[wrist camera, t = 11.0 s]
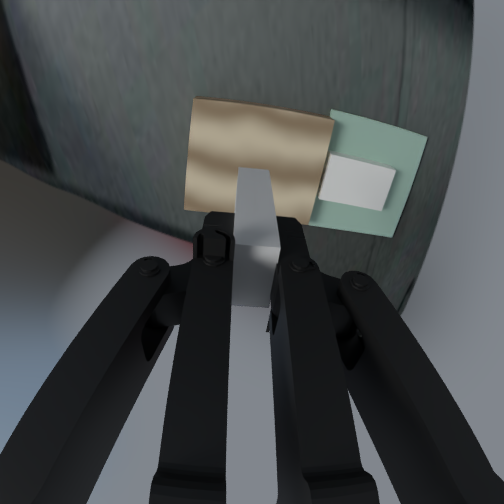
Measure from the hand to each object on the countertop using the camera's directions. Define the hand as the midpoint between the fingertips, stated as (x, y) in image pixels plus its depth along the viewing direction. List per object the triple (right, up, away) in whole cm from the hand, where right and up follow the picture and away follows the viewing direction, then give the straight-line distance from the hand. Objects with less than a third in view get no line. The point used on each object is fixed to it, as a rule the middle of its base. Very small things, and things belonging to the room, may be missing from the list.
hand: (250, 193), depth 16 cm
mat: (+15, +7, +24) cm, 29 cm away
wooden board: (0, +9, +23) cm, 24 cm away
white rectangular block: (+13, +7, +24) cm, 28 cm away
